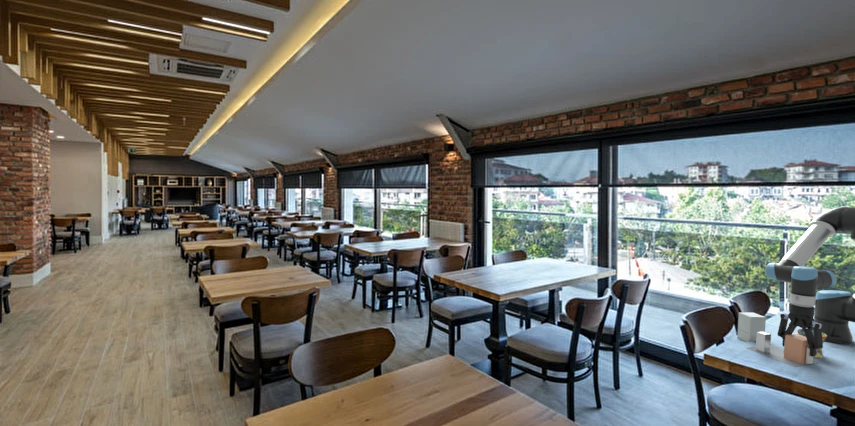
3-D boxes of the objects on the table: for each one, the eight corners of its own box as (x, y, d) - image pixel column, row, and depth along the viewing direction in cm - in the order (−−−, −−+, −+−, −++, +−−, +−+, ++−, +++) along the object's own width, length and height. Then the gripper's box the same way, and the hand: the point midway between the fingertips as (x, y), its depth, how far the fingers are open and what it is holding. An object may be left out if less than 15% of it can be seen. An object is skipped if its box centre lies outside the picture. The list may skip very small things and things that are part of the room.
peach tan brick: (794, 355, 166) (796, 333, 165) (812, 362, 160) (813, 339, 159) (783, 357, 164) (785, 335, 164) (801, 363, 158) (802, 340, 158)
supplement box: (764, 343, 183) (766, 317, 182) (748, 343, 183) (750, 317, 182) (752, 337, 190) (753, 312, 189) (736, 337, 190) (738, 311, 189)
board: (769, 348, 178) (769, 344, 178) (820, 366, 159) (820, 363, 159) (745, 351, 174) (745, 347, 174) (794, 370, 156) (795, 366, 156)
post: (761, 349, 173) (762, 331, 172) (769, 352, 169) (771, 334, 169) (755, 349, 172) (756, 332, 171) (763, 353, 169) (765, 334, 168)
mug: (806, 351, 174) (808, 328, 173) (831, 360, 165) (833, 336, 164) (784, 353, 172) (786, 329, 171) (808, 362, 163) (810, 337, 162)
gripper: (768, 298, 169) (764, 350, 171) (825, 312, 150) (820, 371, 151) (781, 297, 171) (777, 348, 173) (839, 311, 152) (834, 369, 153)
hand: (797, 358), depth 162 cm, fingers open, 7 cm apart
